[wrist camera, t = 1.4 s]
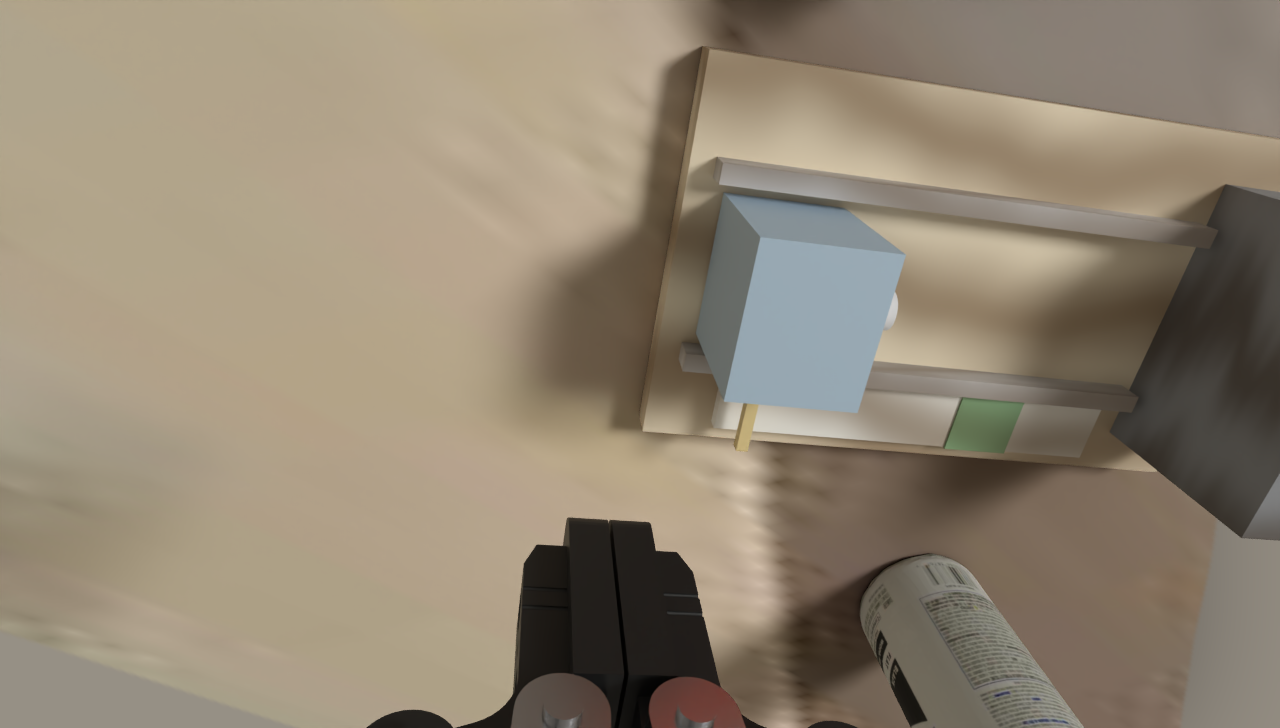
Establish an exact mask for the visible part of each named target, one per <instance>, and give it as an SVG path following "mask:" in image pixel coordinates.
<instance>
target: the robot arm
mask: <svg viewBox="0 0 1280 728" xmlns="http://www.w3.org/2000/svg"><path fill="white" fill-rule="evenodd" d="M367 728H453V727H452V726H451V724H450V723H448V722H447V721H446V720H445V719H443V718H442V717H440V716H438V715H436V714H434V713H431V712H427V711H422V710H403V711H399V712H394V713H391V714H389V715H386V716H384V717H382V718H380V719H378V720H376V721H375V722H373V723H372V724H371V725H369V726H368V727H367ZM457 728H766V727H763V726H760V725H758V724H756V723H754V722H752V721H750V720H749V719H747V718H746V717H744V716H743V715H742V714H741V712H740V710H739V708H738V706H737V704H736V703H735V701H734V700H733V698H732V697H731V696H730V695H729V694H728V693H727V692H726V691H724V690H723V689H722V688H721V686H720V683H719V679H718V675H717V671H716V667H715V663H714V658H713V654H712V650H711V646H710V642H709V637H708V633H707V629H706V625H705V621H704V617H702V608H701V604H700V600H699V599H698V592H697V587H696V583H695V579H694V575H693V572H692V570H691V569H690V568H689V567H688V565H687V564H686V563H685V562H684V560H683V559H682V558H681V557H680V555H679V554H678V553H677V552H664V551H656V549H655V544H654V538H653V533H652V528H651V524H650V523H649V522H635V521H619V520H610V521H609V524H608V520H600V519H584V518H567V522H566V527H565V535H564V542H563V546H553V545H536V547H535V548H534V550H533V551H532V552H531V554H530V555H529V557H528V558H527V560H526V561H525V563H524V568H523V577H522V586H521V595H520V604H519V613H518V622H517V634H516V651H515V669H514V687H513V695H512V697H511V698H510V700H509V701H508V702H507V703H506V705H504V706H503V707H502V708H501V709H500V710H499V711H497V712H496V713H494V714H493V715H491V716H489V717H487V718H485V719H483V720H481V721H478V722H475V723H471V724H468V725H464V726H460V727H457ZM808 728H857V727H855V726H852V725H850V724H847V723H843V722H838V721H823V722H818V723H815V724H813V725H811V726H810V727H808Z"/></svg>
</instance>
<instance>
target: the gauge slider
mask: <svg viewBox="0 0 1280 728" xmlns="http://www.w3.org/2000/svg"><path fill="white" fill-rule="evenodd" d="M905 257H906V254H904V253H903V252H902V251H900V250H899V249H898V248H896V247H895V246H894V245H893V244H891V243H890V242H889V241H887V240H886V239H885V238H883V237H882V236H881V235H879V234H878V233H877V232H875V231H874V230H873V229H872V228H870V227H869V226H868V225H866V224H865V223H864V222H862V221H861V220H860V219H858V218H857V217H856V216H854V215H853V214H852V213H851V212H849V211H848V210H847V209H845V208H840V207H832V206H824V205H817V204H809V203H801V202H794V201H786V200H778V199H771V198H763V197H755V196H748V195H740V194H732V193H725V192H723V198H722V203H721V208H720V213H719V218H718V223H717V228H716V233H715V238H714V243H713V248H712V253H711V258H710V264H709V269H708V274H707V279H706V284H705V289H704V294H703V299H702V304H701V309H700V314H699V319H698V324H697V329H696V335H697V337H698V340H699V342H700V345H701V347H702V350H703V352H704V354H705V357H706V359H707V362H708V364H709V367H710V369H711V371H712V374H713V376H714V379H715V381H716V383H717V386H718V388H719V391H720V393H721V396H722V398H723V400H724V402H736V403H743V407H742V411H741V415H740V419H739V424H738V428H737V432H736V437H735V441H734V447H735V449H736V451H746V452H747V451H748V447H749V443H750V439H751V435H752V431H753V426H754V422H755V418H756V414H757V410H758V406H759V405H770V406H782V407H793V408H805V409H816V410H828V411H839V412H851V413H858V410H859V407H860V403H861V400H862V397H863V394H864V390H865V387H866V384H867V381H868V377H869V374H870V371H871V368H872V364H873V361H874V358H875V355H876V351H877V348H878V345H879V342H880V338H881V335H882V332H883V330H885V331H886V330H889V329H890V328H891V327H892V325H893V324H894V322H895V319H896V316H897V311H898V299H897V295H896V293H895V290H896V286H897V283H898V280H899V277H900V273H901V270H902V267H903V263H904V260H905Z"/></svg>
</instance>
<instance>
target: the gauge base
mask: <svg viewBox="0 0 1280 728" xmlns="http://www.w3.org/2000/svg"><path fill="white" fill-rule="evenodd" d="M723 192H725V193H732V194H740V195H748V196H755V197H763V198H771V199H778V200H786V201H794V202H801V203H809V204H817V205H824V206H832V207H840V208H845V209H847V210H848V211H849V212H851V213H852V214H853V215H854V216H856V217H857V218H858V219H860V220H861V221H862V222H864V223H865V224H866V225H868V226H869V227H870V228H872V229H873V230H874V231H875V232H877V233H878V234H879V235H881V236H882V237H883V238H885V239H886V240H887V241H889V242H890V243H891V244H893V245H894V246H895V247H896V248H898V249H899V250H900V251H902V252H903V253H904V254H906V257H905V260H904V263H903V267H902V270H901V273H900V277H899V280H898V283H897V286H896V290H895V293H896V295H897V299H898V311H897V316H896V319H895V322H894V324H893V325H892V327H891V328H890V329H889V330H886V331H885V330H883V332H882V335H881V338H880V342H879V345H878V348H877V351H876V355H875V358H874V361H873V364H872V368H871V371H870V374H869V377H868V381H867V384H866V387H865V390H864V394H863V397H862V400H861V403H860V407H859V410H858V413H851V412H839V411H828V410H816V409H805V408H793V407H782V406H770V405H759V406H758V410H757V414H756V418H755V422H754V426H753V431H752V435H751V439H750V440H758V441H771V442H783V443H796V444H809V445H821V446H834V447H846V448H859V449H872V450H884V451H897V452H909V453H922V454H935V455H947V456H960V457H972V458H985V459H998V460H1010V461H1023V462H1035V463H1048V464H1061V465H1073V466H1086V467H1098V468H1111V469H1124V470H1136V471H1149V472H1156V471H1159V472H1160V473H1161V474H1162V475H1164V476H1165V477H1166V478H1167V479H1169V480H1170V481H1171V482H1172V483H1174V484H1175V485H1176V486H1177V487H1179V488H1180V489H1181V490H1182V491H1184V492H1185V493H1186V494H1187V495H1189V496H1190V497H1191V498H1192V499H1194V500H1195V501H1196V502H1197V503H1198V504H1200V505H1201V506H1202V507H1203V508H1205V509H1206V510H1207V511H1208V512H1210V513H1211V514H1212V515H1213V516H1215V517H1216V518H1217V519H1218V520H1220V521H1221V522H1222V523H1224V524H1225V525H1226V526H1227V527H1229V528H1230V529H1231V530H1232V531H1234V532H1235V533H1236V534H1237V535H1238V536H1240V537H1241V538H1249V539H1250V538H1251V539H1265V540H1280V138H1274V137H1268V136H1262V135H1255V134H1249V133H1243V132H1236V131H1230V130H1224V129H1218V128H1211V127H1205V126H1199V125H1193V124H1186V123H1180V122H1174V121H1168V120H1161V119H1155V118H1149V117H1143V116H1136V115H1130V114H1124V113H1118V112H1111V111H1105V110H1099V109H1093V108H1086V107H1080V106H1074V105H1068V104H1061V103H1055V102H1049V101H1042V100H1036V99H1030V98H1024V97H1017V96H1011V95H1005V94H999V93H992V92H986V91H980V90H974V89H967V88H961V87H955V86H949V85H942V84H936V83H930V82H924V81H917V80H911V79H905V78H899V77H892V76H886V75H880V74H874V73H867V72H861V71H855V70H848V69H842V68H836V67H830V66H823V65H817V64H811V63H805V62H798V61H792V60H786V59H780V58H773V57H767V56H761V55H755V54H748V53H742V52H736V51H730V50H723V49H717V48H711V47H705V46H702V52H701V58H700V64H699V69H698V75H697V81H696V87H695V93H694V99H693V104H692V110H691V116H690V122H689V128H688V133H687V139H686V145H685V151H684V157H683V163H682V168H681V174H680V180H679V186H678V192H677V197H676V203H675V209H674V215H673V221H672V226H671V232H670V238H669V244H668V250H667V256H666V261H665V267H664V273H663V279H662V285H661V290H660V296H659V302H658V308H657V314H656V320H655V325H654V331H653V337H652V343H651V349H650V354H649V360H648V366H647V372H646V378H645V384H644V389H643V395H642V401H641V407H640V413H639V416H640V421H641V426H642V431H645V432H657V433H670V434H682V435H695V436H708V437H720V438H733V439H735V437H736V432H737V428H738V424H739V419H740V415H741V411H742V407H743V403H736V402H724V400H723V398H722V396H721V393H720V391H719V388H718V386H717V383H716V381H715V379H714V376H713V374H712V371H711V369H710V367H709V364H708V362H707V359H706V357H705V354H704V352H703V350H702V347H701V345H700V342H699V340H698V337H697V335H696V329H697V324H698V319H699V314H700V309H701V304H702V299H703V294H704V289H705V284H706V279H707V274H708V269H709V264H710V258H711V253H712V248H713V243H714V238H715V233H716V228H717V223H718V218H719V213H720V208H721V203H722V198H723Z"/></svg>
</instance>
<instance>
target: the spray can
mask: <svg viewBox="0 0 1280 728" xmlns="http://www.w3.org/2000/svg"><path fill="white" fill-rule="evenodd" d="M860 619H861V624H862V628H863V631H864V633H865V635H866V637H867V639H868V641H869V643H870V645H871V647H872V650H873V652H874V654H875V656H876V658H877V660H878V662H879V664H880V666H881V668H882V670H883V672H884V674H885V676H886V678H887V680H888V682H889V684H890V686H891V688H892V690H893V692H894V694H895V696H896V698H897V700H898V702H899V704H900V706H901V708H902V710H903V713H904V715H905V717H906V719H907V721H908V723H909V725H910V727H911V728H1084V727H1083V726H1082V724H1081V723H1080V722H1079V720H1078V719H1077V717H1076V716H1075V715H1074V713H1073V712H1072V710H1071V709H1070V708H1069V706H1068V705H1067V704H1066V702H1065V701H1064V700H1063V698H1062V697H1061V696H1060V694H1059V693H1058V691H1057V690H1056V689H1055V687H1054V686H1053V685H1052V683H1051V682H1050V680H1049V679H1048V677H1047V676H1046V675H1045V673H1044V672H1043V671H1042V669H1041V668H1040V667H1039V665H1038V664H1037V663H1036V661H1035V660H1034V659H1033V657H1032V656H1031V654H1030V653H1029V651H1028V650H1027V649H1026V647H1025V646H1024V645H1023V643H1022V642H1021V641H1020V639H1019V638H1018V636H1017V635H1016V633H1015V632H1014V631H1013V629H1012V628H1011V627H1010V625H1009V624H1008V623H1007V621H1006V620H1005V619H1004V617H1003V616H1002V614H1001V613H1000V611H999V610H998V609H997V607H996V606H995V605H994V603H993V602H992V601H991V599H990V598H989V597H988V595H987V594H986V593H985V591H984V590H983V588H982V587H981V586H980V584H979V583H978V581H977V580H976V579H975V577H974V576H973V575H972V574H971V573H970V572H969V571H968V570H967V569H966V568H965V567H964V566H962V565H961V564H959V563H957V562H956V561H954V560H952V559H950V558H947V557H944V556H940V555H936V554H926V555H922V556H917V557H912V558H908V559H905V560H902V561H900V562H898V563H896V564H894V565H892V566H889V567H888V568H886V569H884V570H883V571H882V572H881V573H880V574H879V575H878V576H877V577H876V578H875V579H874V580H873V581H872V582H871V583H870V585H869V587H868V589H867V590H866V592H865V593H864V595H863V596H862V600H861V604H860Z"/></svg>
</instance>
